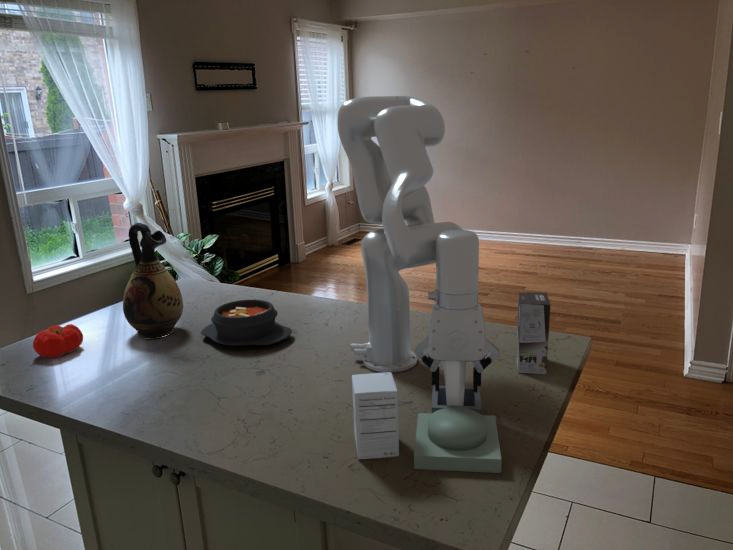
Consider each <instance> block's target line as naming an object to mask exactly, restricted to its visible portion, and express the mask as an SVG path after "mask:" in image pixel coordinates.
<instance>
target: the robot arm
mask: <svg viewBox="0 0 733 550" xmlns="http://www.w3.org/2000/svg"><path fill="white" fill-rule="evenodd" d="M336 124H337V132H338V137H339V139H340V143H341V145H342V148H343V150H344V152H345V154H346V157H347V158H348V162H349V163H350V166H351V167H350V168H351V171H352V175H353V181H354V187H355V191H356V197H357V202H358V206H359V210H360V214H361V215H362V218H363V220H365V222H366V223H369V224H382V228H377V229H373V230H372V231H370V232H368V233H367V234H365V236H364V237H363V238H362V239H361V245H360V253H361V257H362V261H363V265H364V266H363V267H364V272H365V281H366V299H367V320H368V321H367V323H368V324H367V325H368V341H367V342H364V343H356V342H355V343H353V342H352V343H350V352H353V354H354V356H355V355H356V356H357V355H358V356H361V355H363V357H362V364H363V365H364V366H365V367H366V368H367V369H369V370H372V371H373V372H377V373H385V372H391V373H392V374H393V373H400V372H404V371H407V370H410V369H412V368H413V367H414V366H416V364H418V363H417V362H418V358H419V359H420V360H421V361H422V363H423V364H424V365H425V366H427V367H428V369H429V370H430V372H431V386H433V385H435V391H439V386H440V366H439V365H440V364H441V362H443V361H464V362H466V363H467V362H471V363H472V364H473V366H474V367H473V369H472V387H473V391H474V392H477V389H478V387H482V373H483V372H484V370H485V369H486V368H487V367H489V366H490V365H491V364H492V362H493V361H495V360H496V359H497V358H498V357H499V356H500V355H501V352H500V348H498V347H497V346H496V345H495V344H494V343H493V342H492V341H490V340H489V339H488V338H487V337H486V332H485V330H486V327H485V316H484V315H485V314H484V310H483V306H482V304H480V303H479V273H480V272H479V270H480V268H479V266H480V264H479V263H480V239H479V236H478V235H477V233H476V232H474V231H473V230H467V229H464V228H462V227H461V226H460V225H458V224H457V223H455V222H451V221H443V222H442V221H440V222H435V218H434V214H433V208H432V204H431V199H430V195H429V192H428V189H427V187H426V184H427V183H428V182H430V180H431V179H433V178H432V177H433V175H434V167H433V164H432V163H431V160H430V157H429V154H428V152H427V149H426V148H427V147H435V146H437V145H439V144H441V142H442V141H443V139H444V137H445V133H446V125H445V119H444V117H443V115H442V113H441V111H440V110H439V109H438V108H437V107H436V106H434V105H433V104H431V103H429V102H426V101H424V100H421V99H418V98H416V97H414V96H409V95H408V96H407V95H393V96H392V95H391V96H390V95H387V96H380V95H379V96H378V95H377V96H362V97H360V96H359V97H355V98H351V99H348V100H347V101H345V102H343V103H342V104H341V106H340V107H339V109H338V112H337V123H336ZM374 137H375V138H376V140H377V142H378V144H377V143H376V142H375V141H374V140H373V139H372V138H374ZM431 264H435V286H436V287H435V289H434V291H430V292H428V293H427V299H428V300H431V301H434V303H433V305H432V306H431V310H430V315H429V316H430V317H429V326H428V327H429V329H428V335H427V336H426V337H425V338H424V339H423V340H422V341H421V342H420V343H419V344H417V345H416V346H415V347H414V349H413V351H412V350H411V326H410V325H411V323H410V322H411V318H410V317H411V316H410V313H411V312H410V310H411V309H410V289H409V286H408V283H407V282H406V280H404V278H403V277H402V276H401V275H400V273H399V271H401V270H406V269H410V268H411V269H412V268H417V267H418V268H419V267H423V266H427V265H431ZM427 348H428V353H429V354H427V353H426V349H427ZM486 350H487V351H488V352H489V353H488V354H486V355H485V353H486Z"/></svg>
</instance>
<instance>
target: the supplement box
mask: <svg viewBox="0 0 733 550" xmlns="http://www.w3.org/2000/svg"><path fill="white" fill-rule="evenodd" d="M351 388H352V390H351V391H352V392H351V393H352V411H353V414H352V415H353V430H354V433H353V434H354V439H355V447H356V455H357V459H358V460H368V459H382V458H391V457H392V458H395V457H399V456H400V441H399V440H400V439H399V430H400V429H399V393H398V392H399V391H398V388H397V385H396V381H395V379H394V375H393V372H392V373H391V372H373V373H359V374H352V375H351Z"/></svg>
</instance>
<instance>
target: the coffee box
mask: <svg viewBox="0 0 733 550" xmlns="http://www.w3.org/2000/svg"><path fill="white" fill-rule="evenodd" d="M517 298H518V301H517V323H516V324H517V325H516V327H517V328H516V352H515V353H516V355H515V357H516V358H515V360H516V368H517V373H518V374H536V375H546V374H547V371H548V369H547V368H548V354H549V353H548V351H549V339H550V338H549V336H550V334H549V333H550V322H551V321H550V320H551V319H550V316H551V306H552V305H551V301H550V299H549V296H548V294H547V292H540V291H537V292H535V291H533V292H532V291H531V292H520V291H519V292H518V297H517Z"/></svg>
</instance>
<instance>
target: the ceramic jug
mask: <svg viewBox="0 0 733 550" xmlns="http://www.w3.org/2000/svg"><path fill="white" fill-rule="evenodd" d="M138 233H140V235H141V239H140V241H139V238H138V237H139V234H138ZM128 241H129V246H130V249H131V252H132V256H133V257H132V258H133V259H134V260H133V261H134V262H135V263H134V264H135V266H134V270H133V272H132V274H131V276H130V278H129V280H128V282H127V284H126V287H125V289H124V293H123V299H122V300H123V301H122V311H123V315H124V318H125V320H126V321H127V323H128V324H129V326H131V327H132V328H133V329H134V330H136V333H137V336H138V337H139V338H141V337H142V338H141V339H144V338H155V339H158V338H157V337H162V336H165V335H168V334H169V335H171V334H172V333H171V332H172V331H173V332H174V328H175V326H176V325H177V323H178V321H179V320H180V319H181V317H182V315H183V312H184V311H183V310H184V302H183V296H182V292H181V290H180V287H179V285H178V283H177V282H176V280H175V279H174V277H173V276H172V274H171V273H170V271H169V270H168V269H167V268H166V267H165V265H163V264H162V263H161V261H160V259H158V257H157V256H156V249H157V248H158V247H160V246H162V245H164V244H166V243H167V237H166V236H165V234H164V233H163V232H162V230H156V231H155V232H153V233H152V231H151V229H150V227H149V226H148V225H147V224H145V223H142V222H136V223H134V224H132V225H131V226H130V227H129V229H128ZM170 333H171V334H170ZM169 335H168V336H169ZM162 338H163V337H162Z"/></svg>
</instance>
